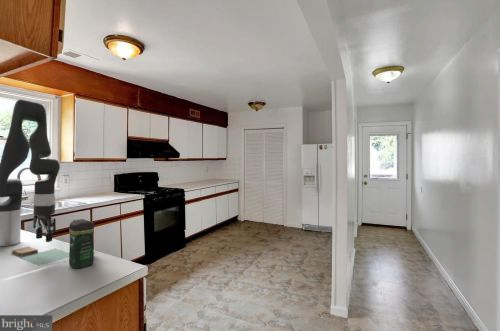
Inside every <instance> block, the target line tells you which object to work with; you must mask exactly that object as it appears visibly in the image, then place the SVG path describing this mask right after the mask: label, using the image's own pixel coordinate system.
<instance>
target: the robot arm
mask: <svg viewBox="0 0 500 331" xmlns="http://www.w3.org/2000/svg"><path fill="white" fill-rule="evenodd" d="M47 120H48V119H47V111H46V108H45V106H44V105H43V104H42V103H39V102H35V101H32V100H31V101H30V100H25V99H18V100H16V102H15V104H14V106H13V110H12V115H11V120H10V121H11V122H10V127H9V132H8V134H7V138H6V140H5V143H4V147H3V151H2V155H1V157H0V158H1V159H0V198H8V199H6V200H5V201H3V202H0V247H6V246H8V247H9V246H13V245H14V246H15V245H17V244H19V243H21V234H22V233H21V232H22V230H21V229H22V228H21V223H22V222H21V219H22V218H21V207H22V200H23V199H22V197H23V183H22V180H21V179H19V178H18V177H17V178H15V177H14V178H9V177H11V176H10V175H11V174H12V173H13V172H14V171H15V170H16V169H17V168H19V167H20V166H21V165H23V163H24V162H26V160H27V159H28V156H29V152H31V153H30V154H31V155H30V156H31V159H30V162H29V168H28V169H29V171H30V173H31V174H32V175H36V176H41V175H42V176H43V175H44V176H46V177H45V178H44V179H40V180H36V181H35V182H34V194H33V195H34V196H33V218H32V219H33V224H32V226H33V229H34V230H35V239H37V240H38V239H42V238H43V230H44V232H45V242H46V243H50V242H52V241H53V233H56V228H57V227H56V225H57V224H56V222H57V221H56V218H55V217H54V218H52V215H54V214H55V213H56V196H55V195H56V194H55V192H56V191H55V189H56V188H55V186H56V185H55V184H56V181H57V177H58V174H59V172H60V169H61V165H60V162H59V161H58V160H57V159H55V158H48V157H50V156H51V154H52V150H51V146H50V143H49V139H48V127H47V126H48V123H47V122H48V121H47ZM23 121H27V122H28V121H29V122H34V123H36V128H34V131H33V132H32V133H31V134H30V136H29V139H28V138H27V135H26V134H25V132H24V129H23Z"/></svg>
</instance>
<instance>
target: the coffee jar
mask: <svg viewBox="0 0 500 331" xmlns="http://www.w3.org/2000/svg"><path fill="white" fill-rule="evenodd" d="M68 231H69V251H68V253H69V257H68V264H69V266H70V267H72V268H74V269H79V268H82V269H84V268H87V267H90V266H91V265H93V264H94V262H95V258H94V256H95V254H94V253H95V252H94V249H95V246H94V241H95V240H94V237H95V236H94V234H95V233H94V232H95V224H94V222H93V221H90V220H87V219H84V218H81V219H74V220H72V221H71V222H70V223H69V230H68Z"/></svg>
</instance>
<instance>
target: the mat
mask: <svg viewBox="0 0 500 331" xmlns="http://www.w3.org/2000/svg"><path fill="white" fill-rule="evenodd" d="M66 258H69V251H65V250H61V249H57V248H52V249H48V250H43V251H41V252H40V251H39V252H38V253H35V254H31V255H27V256H23V257H20V256H19V259H21V260H23V261H26V262H27V263H31V264H33V265H36V266H42V265H45V264H49V263H53V262H56V261H59V260H63V259H66Z"/></svg>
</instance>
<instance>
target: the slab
mask: <svg viewBox="0 0 500 331" xmlns="http://www.w3.org/2000/svg"><path fill="white" fill-rule="evenodd" d="M36 253H39V249H37V248H34V247H31V246H24V247H19V248H16V249H12V250H11V254H12V255H16V256H18V257H19V258H20V257H24V256H28V255H32V254H36Z"/></svg>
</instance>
